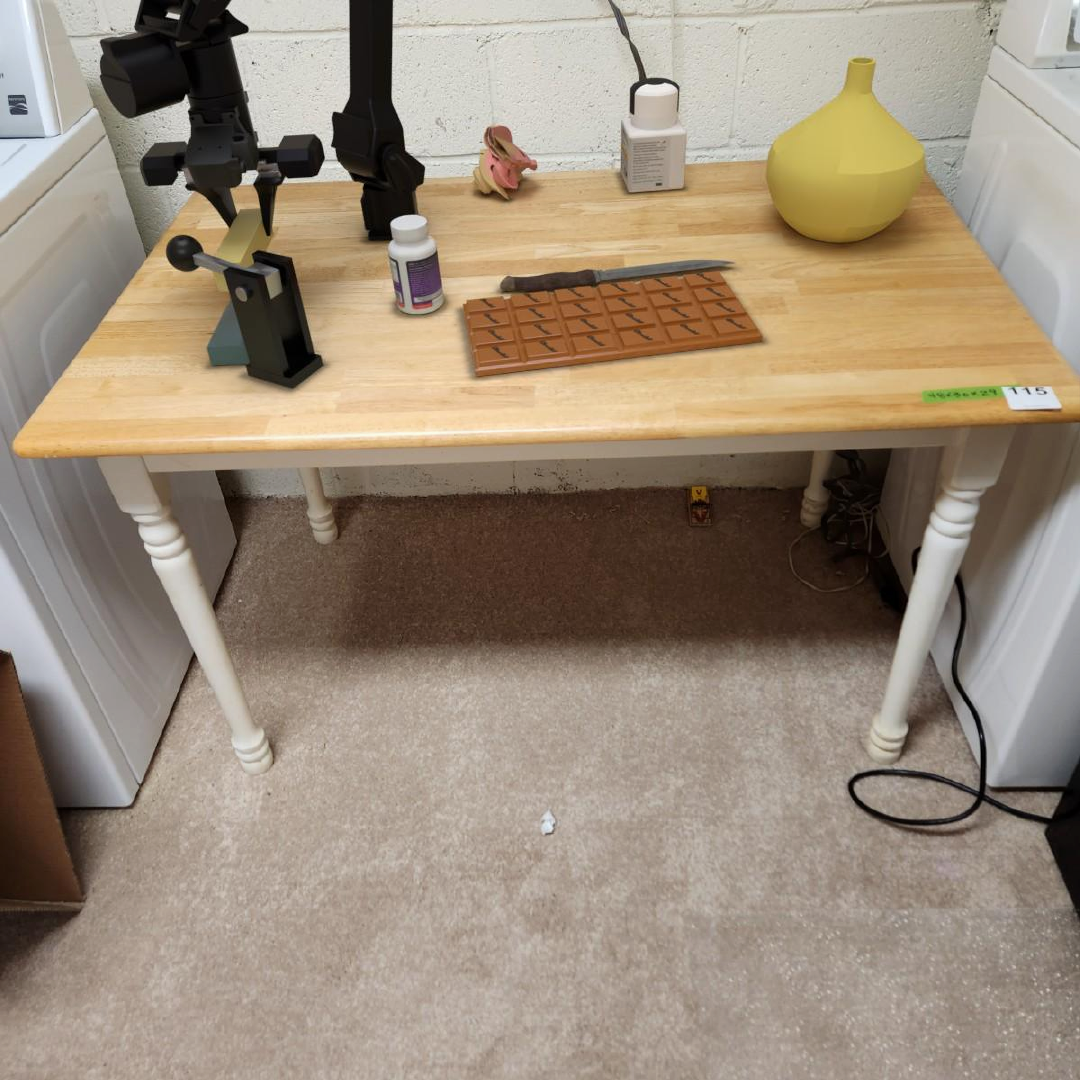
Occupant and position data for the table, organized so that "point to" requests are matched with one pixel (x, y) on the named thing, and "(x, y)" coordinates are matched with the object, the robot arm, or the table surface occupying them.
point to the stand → (273, 323)
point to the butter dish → (227, 341)
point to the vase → (845, 165)
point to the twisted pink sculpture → (500, 162)
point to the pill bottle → (415, 266)
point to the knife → (599, 275)
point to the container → (653, 137)
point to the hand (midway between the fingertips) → (253, 235)
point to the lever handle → (214, 262)
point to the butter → (242, 242)
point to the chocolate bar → (605, 323)
